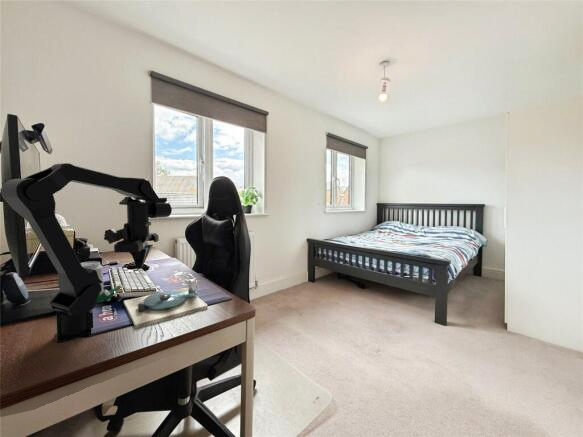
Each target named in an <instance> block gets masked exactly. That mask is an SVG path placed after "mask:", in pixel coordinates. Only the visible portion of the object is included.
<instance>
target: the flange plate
mask: <svg viewBox="0 0 583 437" xmlns="http://www.w3.org/2000/svg"><path fill="white" fill-rule="evenodd" d="M196 286H197V279H194V278H192V279H189V280H187V289H188V292H179V291H172V290H168V291H160V292H156V293H154V294H153V293H152V294H149V295H150V296H148V295H147V296H148V297H147V298H145V299H144V301H143V302H140V303H145V308H146V309H149V310H164V309H170V308H173V307H176V306H179V305H181V304H182V303H184V302H185V300H186V298H189V297H193V296H197V297H198V292H197V291H196V288H197V287H196ZM138 304H139V303H137V307H138Z"/></svg>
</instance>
